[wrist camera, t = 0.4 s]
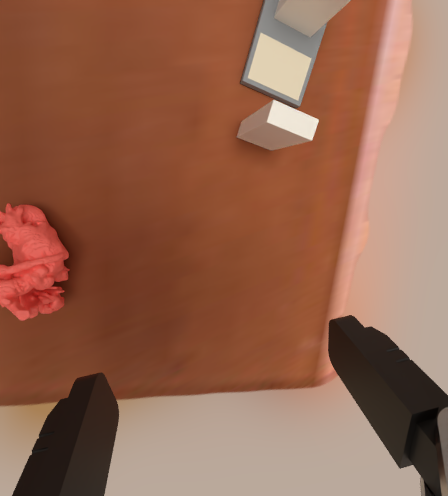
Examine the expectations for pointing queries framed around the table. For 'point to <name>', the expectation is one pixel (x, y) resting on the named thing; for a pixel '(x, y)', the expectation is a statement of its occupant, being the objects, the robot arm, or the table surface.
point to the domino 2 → (277, 127)
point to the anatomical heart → (31, 263)
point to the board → (280, 58)
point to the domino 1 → (307, 13)
